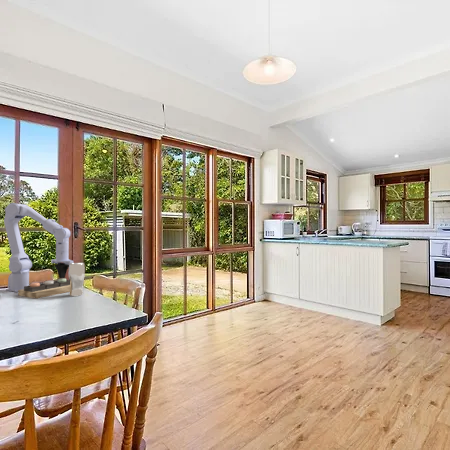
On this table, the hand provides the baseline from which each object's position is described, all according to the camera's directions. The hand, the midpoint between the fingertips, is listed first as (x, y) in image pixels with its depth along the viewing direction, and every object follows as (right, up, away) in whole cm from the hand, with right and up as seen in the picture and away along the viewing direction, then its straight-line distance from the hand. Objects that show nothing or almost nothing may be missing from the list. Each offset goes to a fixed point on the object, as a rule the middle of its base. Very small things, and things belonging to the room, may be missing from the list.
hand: (62, 278), depth 158 cm
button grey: (-3, -2, -6) cm, 7 cm away
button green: (0, -2, 0) cm, 2 cm away
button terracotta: (-6, -2, -13) cm, 14 cm away
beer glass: (+13, -6, -11) cm, 18 cm away
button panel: (-3, -6, -6) cm, 9 cm away
